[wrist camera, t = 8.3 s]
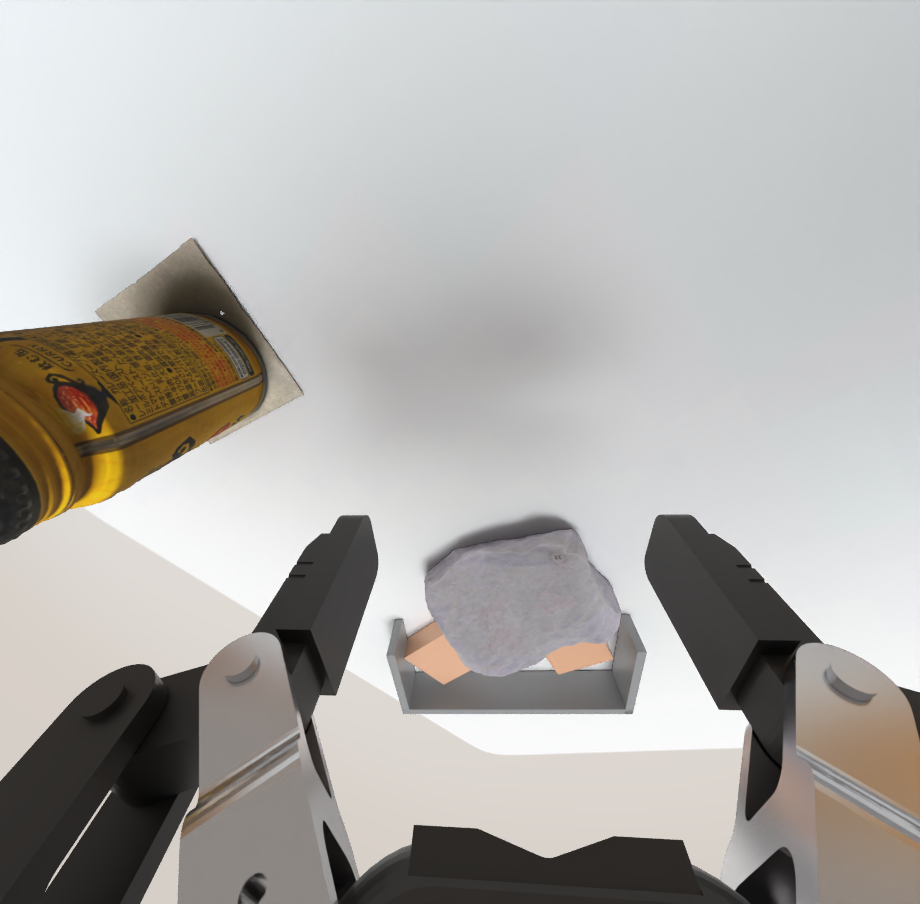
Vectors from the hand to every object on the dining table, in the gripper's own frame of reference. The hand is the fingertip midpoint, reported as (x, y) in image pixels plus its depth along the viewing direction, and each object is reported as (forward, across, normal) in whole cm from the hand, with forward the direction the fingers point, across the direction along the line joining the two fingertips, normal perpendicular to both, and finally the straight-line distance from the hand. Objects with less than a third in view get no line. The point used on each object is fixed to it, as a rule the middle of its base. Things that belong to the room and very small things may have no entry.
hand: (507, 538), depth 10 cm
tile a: (+10, +4, +20) cm, 23 cm away
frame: (+10, -1, +21) cm, 23 cm away
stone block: (+11, -1, +13) cm, 17 cm away
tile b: (+11, -6, +19) cm, 23 cm away
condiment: (+11, +16, -4) cm, 20 cm away
